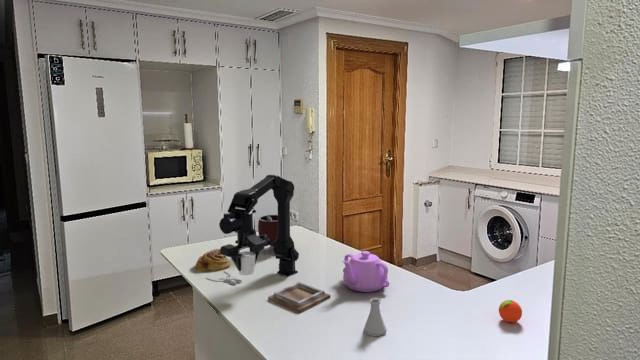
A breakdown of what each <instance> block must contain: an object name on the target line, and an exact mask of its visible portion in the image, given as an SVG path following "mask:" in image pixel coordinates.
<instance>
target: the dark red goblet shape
mask: <svg viewBox="0 0 640 360" xmlns="http://www.w3.org/2000/svg"><path fill="white" fill-rule="evenodd" d="M257 234H258V236H259V235H264V234H266V235H267V237H268V238H269V240H270V245H269V246H266V247H265V248H264V249H263V250H261V251H260V254H261V255H262V256H265V257H266V256H267V257H275V254H274V251H273V247H274V246H273V242H274V241H276V239H277V238H278V214H265V215H262V216H259V217H258V221H257Z"/></svg>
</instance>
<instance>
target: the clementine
mask: <svg viewBox="0 0 640 360" xmlns="http://www.w3.org/2000/svg"><path fill="white" fill-rule="evenodd" d="M498 314H499V316H500V317H501V319H502V320H503V321H504V322H507V323H512V324H514V323H517V322H518V321H520V320H521V318H522V315H523V310H522V307H521V305H520V304H519V303H518V302H517V301H514V300H511V299H507V300H504V301H502V302H501V303H500V304H499V306H498Z"/></svg>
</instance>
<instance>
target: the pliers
mask: <svg viewBox="0 0 640 360" xmlns="http://www.w3.org/2000/svg"><path fill="white" fill-rule="evenodd" d="M223 272H224V273H225V274H227V275H226V278H223V277H221V278H212V277H208V276H206V280H209V281H211V280H212V281H213V282H217V283H218V282H220V283H221V282H223V283H224V282H226V283H229V284H231V285H234V286H236V285H237V283H238V284H239V283H240V284H241V283H243V280H242V279H241V278H239V277H236V276H235V277H234V274H233V273H232V272H230V271H227V270H223Z"/></svg>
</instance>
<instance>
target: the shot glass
mask: <svg viewBox="0 0 640 360" xmlns="http://www.w3.org/2000/svg"><path fill="white" fill-rule="evenodd" d="M240 254H243V255H242V256H241V271H238V274H240V276H251V275H253V274H255V272H256V271H255V270H256V269H255V268H256V264H255V256H256V254H255V253H254V252H251V251H250V250H247V251H240Z"/></svg>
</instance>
